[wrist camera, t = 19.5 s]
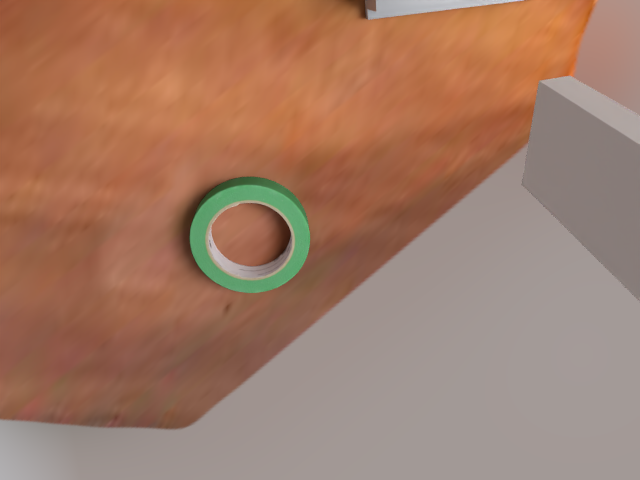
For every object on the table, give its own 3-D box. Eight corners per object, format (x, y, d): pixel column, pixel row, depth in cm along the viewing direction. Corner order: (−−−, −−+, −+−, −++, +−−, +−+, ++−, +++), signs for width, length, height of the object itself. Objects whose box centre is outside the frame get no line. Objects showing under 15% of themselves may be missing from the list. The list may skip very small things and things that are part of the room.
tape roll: (218, 156, 47) (216, 165, 44) (327, 203, 50) (330, 214, 47) (176, 255, 51) (171, 269, 48) (279, 293, 54) (279, 308, 51)
